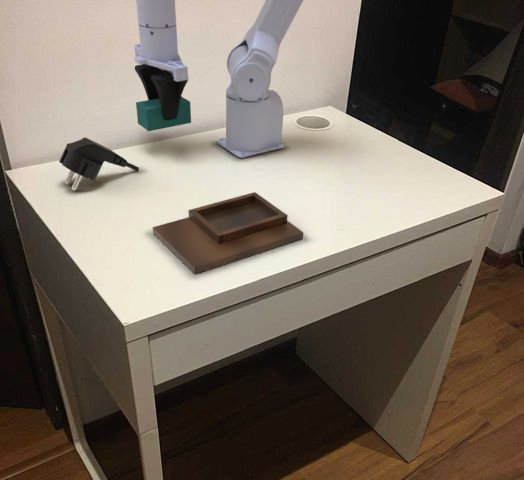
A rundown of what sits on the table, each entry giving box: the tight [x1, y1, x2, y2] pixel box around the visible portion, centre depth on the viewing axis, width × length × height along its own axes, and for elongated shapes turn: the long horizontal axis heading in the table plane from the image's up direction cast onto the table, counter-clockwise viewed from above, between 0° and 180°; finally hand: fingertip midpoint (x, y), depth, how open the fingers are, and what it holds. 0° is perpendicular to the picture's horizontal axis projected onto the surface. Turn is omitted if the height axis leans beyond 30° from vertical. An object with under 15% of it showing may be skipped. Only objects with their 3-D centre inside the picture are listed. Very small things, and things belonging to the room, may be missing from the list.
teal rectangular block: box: [135, 95, 192, 132], centre depth 97 cm, size 8×4×4 cm, turn 124°
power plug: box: [59, 137, 140, 192], centre depth 90 cm, size 6×8×12 cm
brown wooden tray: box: [152, 191, 304, 275], centre depth 79 cm, size 17×12×2 cm
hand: (164, 114), depth 98 cm, fingers closed on teal rectangular block, 4 cm apart
